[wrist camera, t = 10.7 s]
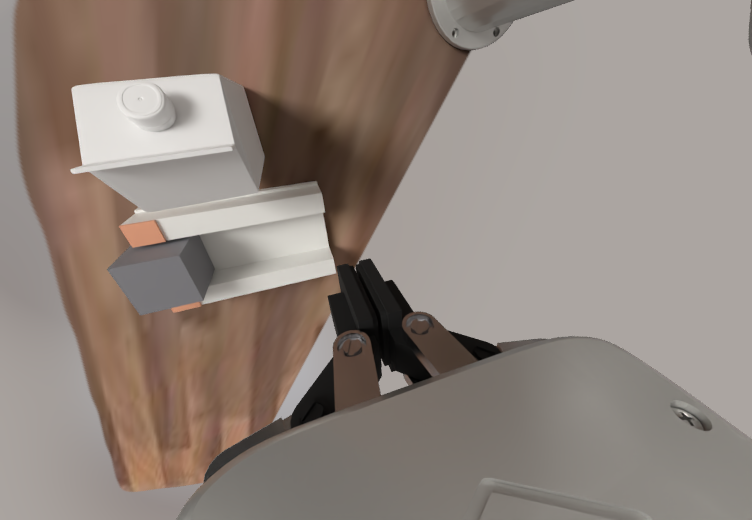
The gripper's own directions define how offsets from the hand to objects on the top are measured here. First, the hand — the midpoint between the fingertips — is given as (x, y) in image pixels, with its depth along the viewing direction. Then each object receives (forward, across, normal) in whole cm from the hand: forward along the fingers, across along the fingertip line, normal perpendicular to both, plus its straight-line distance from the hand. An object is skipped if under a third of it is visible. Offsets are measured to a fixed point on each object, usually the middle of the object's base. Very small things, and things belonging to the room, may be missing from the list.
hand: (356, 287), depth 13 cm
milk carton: (+25, +8, -6) cm, 27 cm away
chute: (+25, +9, +7) cm, 28 cm away
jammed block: (+24, +17, +7) cm, 30 cm away
